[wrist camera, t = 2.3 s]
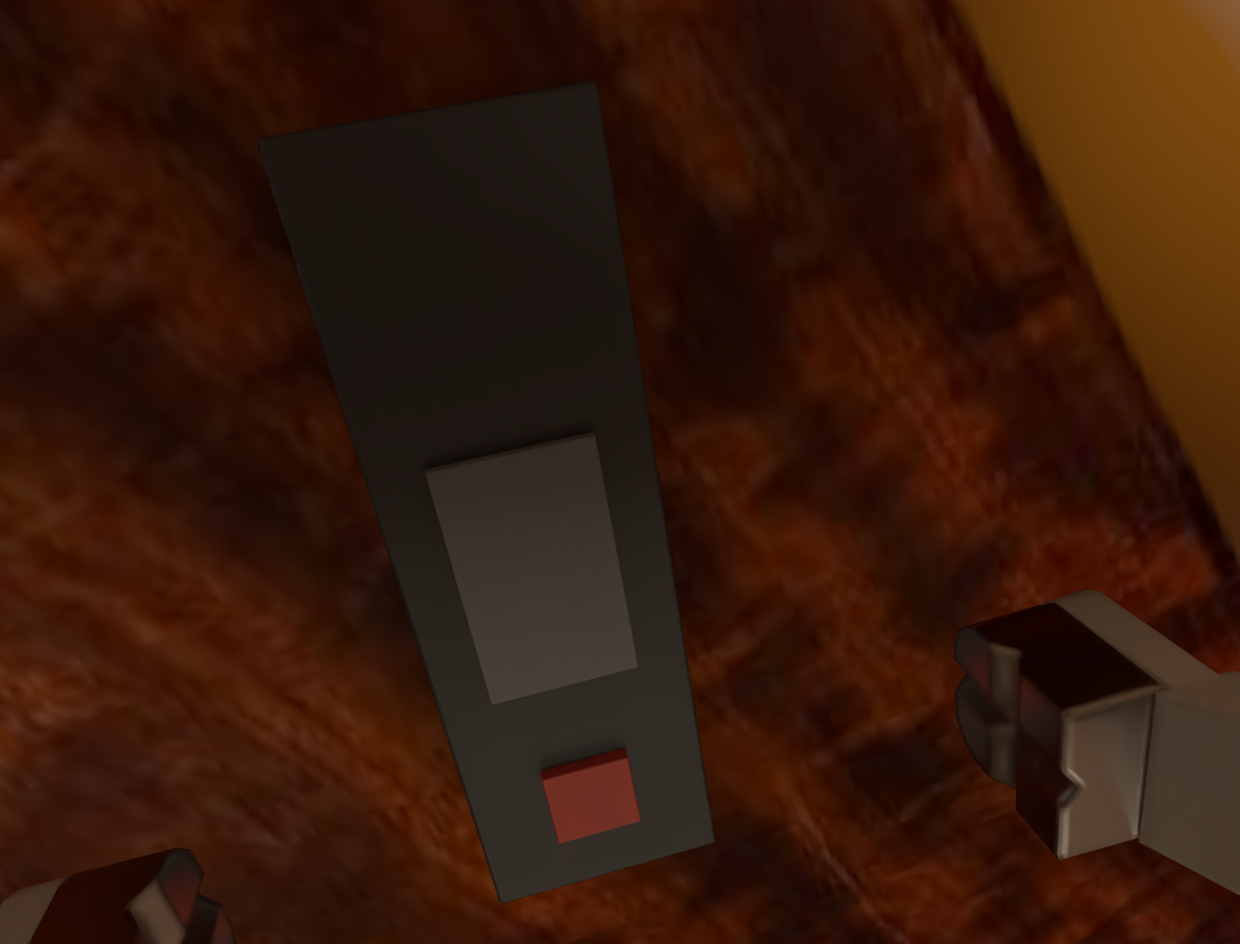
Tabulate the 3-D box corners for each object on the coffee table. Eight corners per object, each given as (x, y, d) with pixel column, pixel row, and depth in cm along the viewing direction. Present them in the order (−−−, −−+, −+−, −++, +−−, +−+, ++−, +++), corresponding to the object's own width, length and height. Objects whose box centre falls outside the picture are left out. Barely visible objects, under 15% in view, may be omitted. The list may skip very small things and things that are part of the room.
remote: (287, 137, 12) (250, 139, 10) (571, 87, 13) (601, 77, 11) (493, 812, 18) (500, 916, 16) (684, 760, 19) (720, 853, 16)
